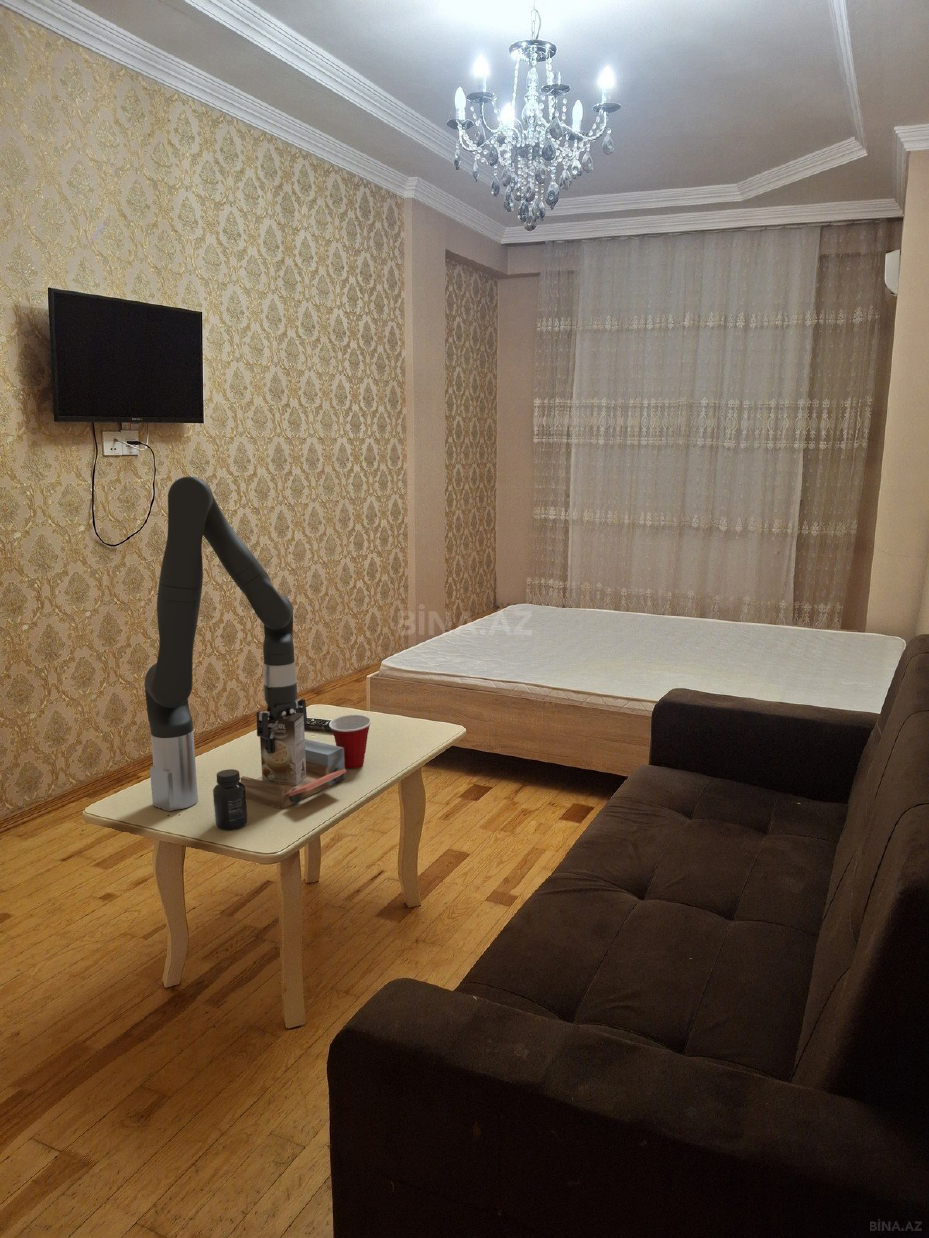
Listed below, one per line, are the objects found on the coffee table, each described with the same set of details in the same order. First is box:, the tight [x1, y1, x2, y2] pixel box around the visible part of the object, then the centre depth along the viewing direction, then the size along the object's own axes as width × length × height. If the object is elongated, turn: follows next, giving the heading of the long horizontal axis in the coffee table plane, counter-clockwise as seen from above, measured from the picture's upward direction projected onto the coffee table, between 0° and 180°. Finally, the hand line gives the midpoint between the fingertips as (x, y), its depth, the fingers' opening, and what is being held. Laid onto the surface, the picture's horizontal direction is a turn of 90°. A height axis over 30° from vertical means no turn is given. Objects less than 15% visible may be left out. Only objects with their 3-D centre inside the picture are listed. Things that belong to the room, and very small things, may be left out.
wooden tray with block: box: [240, 738, 346, 810], centre depth 215 cm, size 22×14×8 cm, turn 147°
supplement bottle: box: [212, 768, 248, 832], centre depth 195 cm, size 7×7×12 cm
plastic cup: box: [328, 714, 372, 770], centre depth 230 cm, size 11×11×12 cm
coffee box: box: [259, 712, 306, 785], centre depth 212 cm, size 9×6×16 cm
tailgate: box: [289, 768, 347, 796], centre depth 207 cm, size 14×1×6 cm
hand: (283, 747), depth 212 cm, fingers open, 8 cm apart
